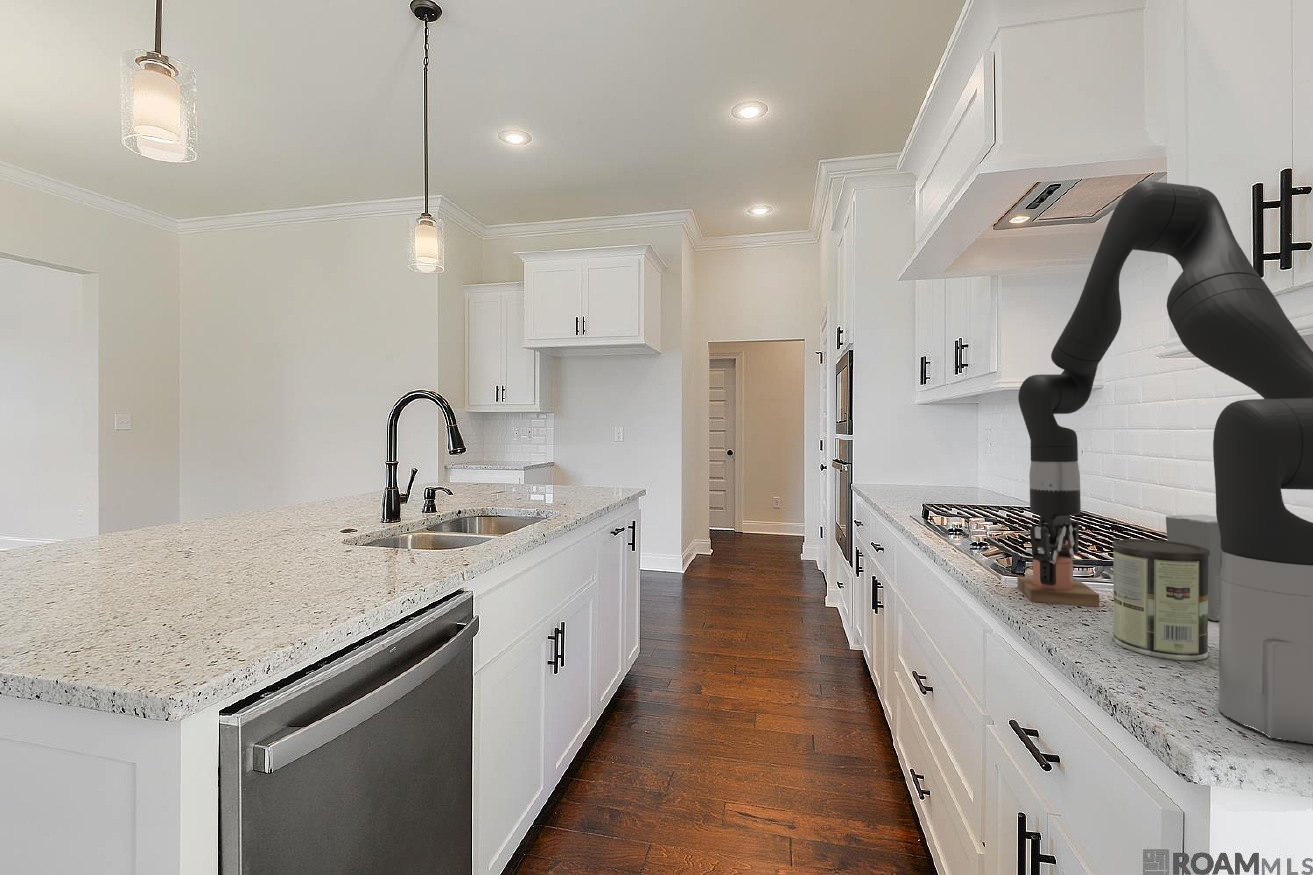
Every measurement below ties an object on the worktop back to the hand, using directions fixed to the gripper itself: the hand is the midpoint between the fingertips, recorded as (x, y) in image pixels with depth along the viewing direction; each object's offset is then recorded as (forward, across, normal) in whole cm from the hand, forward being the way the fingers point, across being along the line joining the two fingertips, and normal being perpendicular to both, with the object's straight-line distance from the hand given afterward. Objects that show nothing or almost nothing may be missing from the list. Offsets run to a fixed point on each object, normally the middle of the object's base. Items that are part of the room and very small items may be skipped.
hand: (1056, 581), depth 107 cm
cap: (+1, 0, +1) cm, 1 cm away
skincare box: (+4, +9, -18) cm, 21 cm away
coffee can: (+4, -15, -19) cm, 24 cm away
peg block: (+3, +1, 0) cm, 3 cm away
